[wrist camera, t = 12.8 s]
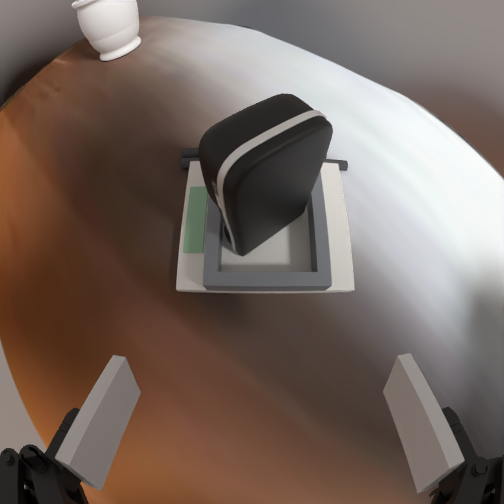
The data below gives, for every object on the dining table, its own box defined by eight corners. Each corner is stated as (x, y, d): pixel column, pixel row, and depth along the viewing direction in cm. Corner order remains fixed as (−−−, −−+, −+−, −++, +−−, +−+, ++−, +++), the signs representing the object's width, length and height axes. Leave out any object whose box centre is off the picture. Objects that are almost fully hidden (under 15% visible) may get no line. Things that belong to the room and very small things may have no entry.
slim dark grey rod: (342, 155, 26) (344, 149, 25) (345, 172, 25) (348, 166, 24) (185, 153, 26) (183, 146, 25) (182, 170, 25) (179, 164, 24)
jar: (114, 67, 33) (88, 0, 18) (86, 63, 34) (62, 8, 20) (158, 37, 35) (142, -26, 21) (126, 36, 37) (109, -18, 23)
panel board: (335, 169, 25) (343, 150, 22) (350, 292, 21) (363, 284, 18) (192, 167, 25) (186, 148, 22) (179, 291, 21) (168, 284, 18)
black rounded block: (278, 181, 23) (292, 75, 12) (306, 212, 22) (344, 113, 11) (211, 225, 22) (179, 128, 11) (239, 261, 21) (225, 179, 10)
